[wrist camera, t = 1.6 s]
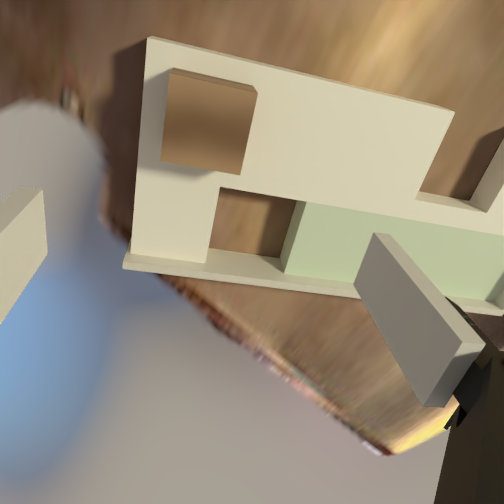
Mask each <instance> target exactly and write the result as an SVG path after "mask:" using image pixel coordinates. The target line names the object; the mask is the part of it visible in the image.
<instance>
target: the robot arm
mask: <svg viewBox="0 0 504 504" xmlns="http://www.w3.org/2000/svg"><path fill="white" fill-rule="evenodd" d="M47 254H48V250H47V237H46V224H45V212H44V199H43V189H39V188H31V187H23V186H19V187H18V188H17V189H16V190H15V191H14V192H13V193H11V194H10V195H9V196H8V197H7V198H6V199H5V200H4V201H3V202H1V203H0V324H1V323H2V321H3V320H4V318H5V317H6V315H7V314H8V312H9V311H10V309H11V308H12V306H13V305H14V303H15V302H16V300H17V299H18V297H19V296H20V294H21V293H22V291H23V290H24V288H25V287H26V285H27V284H28V282H29V281H30V279H31V278H32V276H33V275H34V273H35V272H36V270H37V269H38V267H39V266H40V264H41V263H42V261H43V260H44V258H45V257H46V255H47ZM353 285H354V287H355V289H356V290H357V292H358V294H359V296H360V297H361V299H362V301H363V303H364V304H365V306H366V308H367V310H368V311H369V313H370V315H371V317H372V318H373V320H374V322H375V324H376V325H377V327H378V329H379V331H380V332H381V334H382V336H383V338H384V340H385V341H386V343H387V345H388V347H389V348H390V350H391V352H392V354H393V355H394V357H395V359H396V361H397V362H398V364H399V366H400V368H401V369H402V371H403V373H404V375H405V376H406V378H407V380H408V382H409V383H410V385H411V387H412V389H413V390H414V392H415V394H416V396H417V398H418V399H419V401H420V403H421V405H422V406H423V407H443V408H444V407H445V405H446V404H447V402H448V401H449V399H450V398H451V396H452V395H454V396H455V398H456V399H457V401H458V402H459V406H458V407H457V409H456V410H455V412H454V413H453V415H452V416H451V418H450V419H449V421H448V422H447V423H446V425H445V426H444V428H445V429H446V430H447V429H448V428H449V427H450V426H451V429H450V433H449V438H448V443H447V447H446V451H445V456H444V460H443V465H442V469H441V473H440V478H439V482H438V487H437V491H436V496H435V501H434V504H504V351H499V350H498V349H497V348H496V347H495V346H494V344H493V343H492V342H491V341H490V340H489V339H488V338H487V337H486V336H485V334H484V333H483V332H482V331H481V330H480V329H479V328H478V327H477V326H475V323H474V322H473V321H472V320H471V319H470V318H468V316H467V314H466V313H465V312H464V311H463V310H462V309H461V308H460V307H459V306H458V305H457V304H456V303H454V302H453V301H451V300H450V299H449V298H447V297H444V295H443V294H442V293H441V292H440V291H439V290H438V289H437V287H436V286H435V285H434V284H433V283H432V282H431V281H430V279H429V278H428V277H427V276H426V275H425V274H424V273H423V271H422V270H421V269H420V268H419V267H418V266H417V265H416V263H415V262H414V261H413V260H412V259H411V258H410V257H409V255H408V254H407V253H406V252H405V251H404V250H403V249H402V247H401V246H400V245H399V244H398V243H397V242H396V241H395V239H394V238H393V237H392V236H391V235H390V234H385V233H377V232H373V235H372V237H371V240H370V242H369V245H368V248H367V250H366V253H365V255H364V258H363V260H362V263H361V265H360V268H359V271H358V273H357V276H356V278H355V281H354V283H353Z"/></svg>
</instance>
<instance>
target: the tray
mask: <svg viewBox="0 0 504 504" xmlns="http://www.w3.org/2000/svg"><path fill="white" fill-rule="evenodd" d="M173 67H175V68H179V69H183V70H188V71H192V72H196V73H201V74H205V75H209V76H214V77H218V78H222V79H227V80H231V81H235V82H240V83H244V84H248V85H253V86H254V88H255V89H256V91H257V92H258V96H257V101H256V105H255V110H254V114H253V119H252V124H251V128H250V133H249V137H248V142H247V147H246V151H245V156H244V160H243V165H242V170H241V174H240V175H234V174H229V173H223V172H218V171H212V170H207V169H201V168H196V167H190V166H185V165H179V164H174V163H168V162H163V161H160V157H161V148H162V138H163V129H164V120H165V111H166V101H167V92H168V83H169V74H170V72H171V70H172V69H173ZM454 114H455V112H453V111H451V110H448V109H445V108H443V107H440V106H438V105H434V104H430V103H426V102H422V101H418V100H413V99H409V98H405V97H401V96H397V95H393V94H389V93H385V92H381V91H377V90H372V89H368V88H364V87H360V86H356V85H352V84H348V83H344V82H340V81H336V80H331V79H327V78H323V77H319V76H315V75H311V74H307V73H303V72H299V71H294V70H290V69H286V68H282V67H278V66H274V65H270V64H266V63H262V62H258V61H253V60H249V59H245V58H241V57H237V56H233V55H229V54H225V53H221V52H217V51H212V50H208V49H204V48H200V47H196V46H192V45H188V44H184V43H180V42H176V41H171V40H167V39H163V38H159V37H155V36H151V37H148V38H147V48H146V60H145V73H144V86H143V99H142V112H141V124H140V137H139V150H138V163H137V175H136V188H135V201H134V214H133V226H132V237H131V239H130V242H129V245H128V248H127V251H126V254H125V257H124V260H123V269H128V270H136V271H144V272H152V273H160V274H168V275H176V276H184V277H192V278H200V279H208V280H216V281H224V282H232V283H240V284H248V285H256V286H264V287H272V288H280V289H288V290H296V291H304V292H312V293H320V294H328V295H336V296H344V297H352V298H360V299H361V297H360V296H359V294H358V292H357V290H356V289H355V287H354V285H353V283H354V281H355V278H356V276H357V273H358V271H359V268H360V265H361V263H362V260H363V258H364V255H365V253H366V250H367V248H368V245H369V242H370V240H371V237H372V235H373V232H377V233H385V234H390V235H391V236H392V237H393V238H394V239H395V241H396V242H397V243H398V244H399V245H400V246H401V247H402V249H403V250H404V251H405V252H406V253H407V254H408V255H409V257H410V258H411V259H412V260H413V261H414V262H415V263H416V265H417V266H418V267H419V268H420V269H421V270H422V271H423V273H424V274H425V275H426V276H427V277H428V278H429V279H430V281H431V282H432V283H433V284H434V285H435V286H436V287H437V289H438V290H439V291H440V292H441V293H442V294H443V295H444V297H447V298H449V299H450V300H451V301H453V302H454V303H456V304H457V305H458V306H459V307H460V308H461V309H462V310H463V311H464V312H472V313H480V314H488V315H496V316H502V315H503V314H504V138H503V140H502V142H501V144H500V146H499V148H498V149H497V151H496V153H495V155H494V157H493V159H492V160H491V162H490V164H489V166H488V168H487V170H486V171H485V173H484V175H483V177H482V179H481V181H480V182H479V184H478V186H477V188H476V190H475V192H474V193H473V195H472V197H471V199H470V201H467V200H462V199H457V198H451V197H446V196H441V195H436V194H431V193H425V192H420V191H419V189H420V187H421V185H422V182H423V180H424V178H425V176H426V174H427V172H428V170H429V167H430V165H431V163H432V161H433V159H434V157H435V155H436V152H437V150H438V148H439V146H440V144H441V142H442V140H443V137H444V135H445V133H446V131H447V129H448V127H449V125H450V122H451V120H452V118H453V116H454ZM220 187H225V188H231V189H237V190H242V191H248V192H254V193H260V194H265V195H271V196H277V197H283V198H288V199H294V200H297V202H296V205H295V208H294V212H293V215H292V218H291V221H290V225H289V228H288V231H287V235H286V238H285V241H284V244H283V248H282V251H281V254H280V258H276V257H268V256H261V255H254V254H247V253H240V252H233V251H226V250H219V249H212V248H208V246H209V241H210V236H211V231H212V225H213V220H214V215H215V210H216V205H217V200H218V194H219V189H220Z"/></svg>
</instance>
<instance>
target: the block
mask: <svg viewBox="0 0 504 504" xmlns="http://www.w3.org/2000/svg"><path fill="white" fill-rule="evenodd" d="M257 96H258V92H257V91H256V89H255V88H254V86H253V85H248V84H244V83H240V82H235V81H231V80H227V79H222V78H218V77H214V76H209V75H205V74H201V73H196V72H192V71H188V70H183V69H179V68H175V67H173V69H172V70H171V72H170V74H169V83H168V92H167V101H166V111H165V120H164V129H163V138H162V148H161V157H160V161H163V162H168V163H174V164H179V165H185V166H190V167H196V168H201V169H207V170H212V171H218V172H223V173H229V174H234V175H240V174H241V170H242V165H243V160H244V156H245V151H246V147H247V142H248V137H249V133H250V128H251V124H252V119H253V114H254V110H255V105H256V101H257Z"/></svg>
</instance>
